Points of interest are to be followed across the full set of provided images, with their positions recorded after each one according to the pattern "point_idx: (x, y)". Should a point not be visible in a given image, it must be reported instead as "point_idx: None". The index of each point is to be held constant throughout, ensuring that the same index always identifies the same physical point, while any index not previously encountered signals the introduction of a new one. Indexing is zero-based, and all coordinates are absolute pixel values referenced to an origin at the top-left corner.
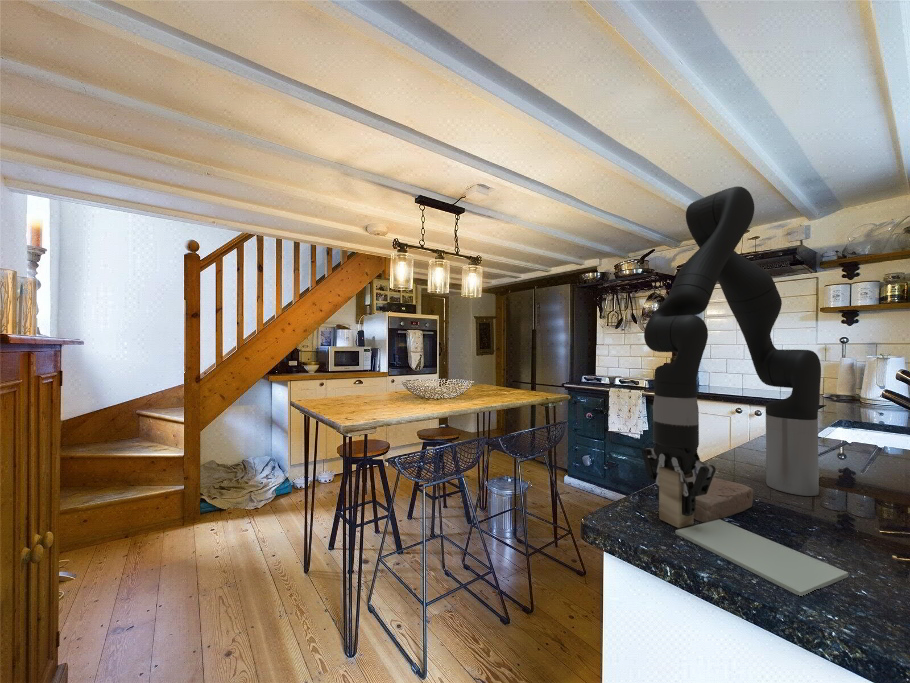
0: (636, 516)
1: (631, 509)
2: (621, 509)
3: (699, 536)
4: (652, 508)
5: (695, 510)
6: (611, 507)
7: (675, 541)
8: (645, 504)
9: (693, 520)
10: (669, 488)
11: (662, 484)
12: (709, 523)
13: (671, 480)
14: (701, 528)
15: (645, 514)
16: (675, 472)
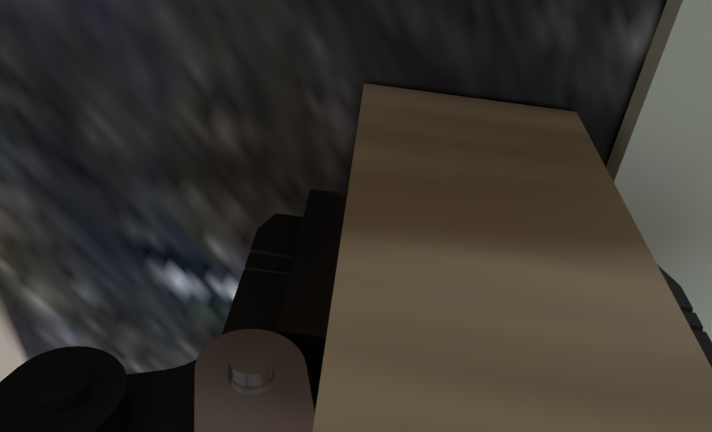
0: (220, 331)
1: (103, 261)
2: (80, 320)
3: (706, 325)
4: (144, 84)
5: (680, 287)
6: (28, 347)
7: None
8: (40, 55)
9: (586, 131)
10: None
11: None
12: (709, 1)
13: None
14: (679, 186)
15: (221, 251)
16: None
